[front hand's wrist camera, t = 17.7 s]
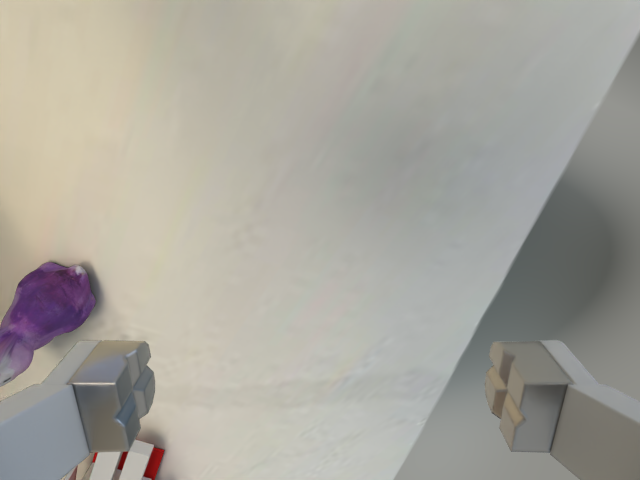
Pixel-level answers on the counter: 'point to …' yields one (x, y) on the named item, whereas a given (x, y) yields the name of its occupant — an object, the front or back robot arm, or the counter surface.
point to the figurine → (42, 314)
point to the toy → (124, 464)
